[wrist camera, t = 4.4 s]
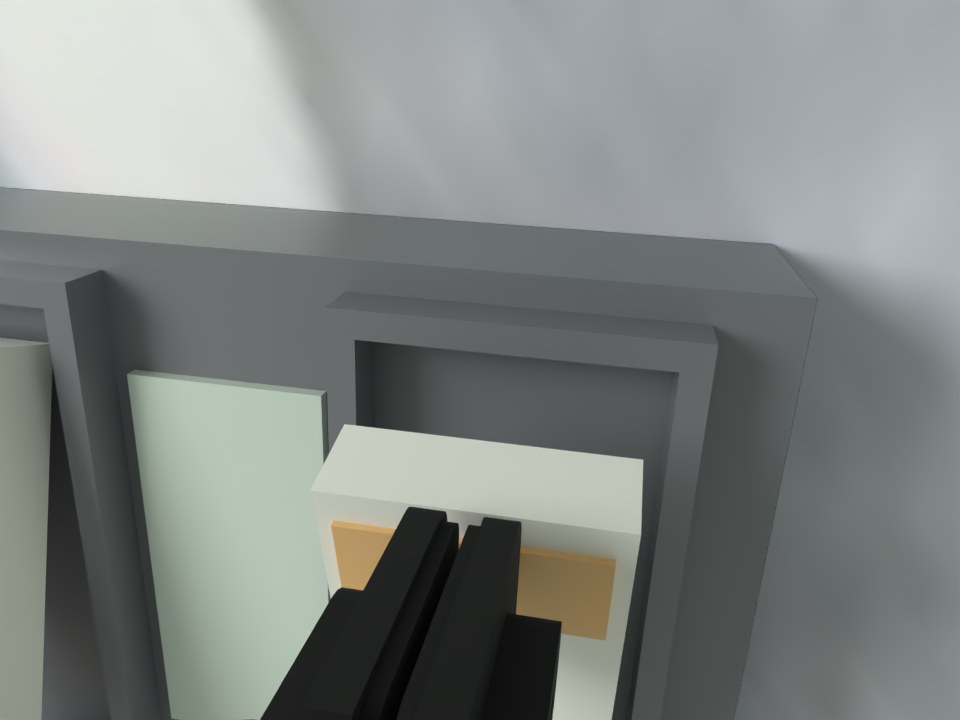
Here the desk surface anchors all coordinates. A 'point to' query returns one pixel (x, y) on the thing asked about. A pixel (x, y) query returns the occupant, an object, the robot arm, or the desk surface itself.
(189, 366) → the panel
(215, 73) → the desk surface
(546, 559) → the rocker
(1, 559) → the plate
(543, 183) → the desk surface
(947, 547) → the desk surface
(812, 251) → the desk surface
